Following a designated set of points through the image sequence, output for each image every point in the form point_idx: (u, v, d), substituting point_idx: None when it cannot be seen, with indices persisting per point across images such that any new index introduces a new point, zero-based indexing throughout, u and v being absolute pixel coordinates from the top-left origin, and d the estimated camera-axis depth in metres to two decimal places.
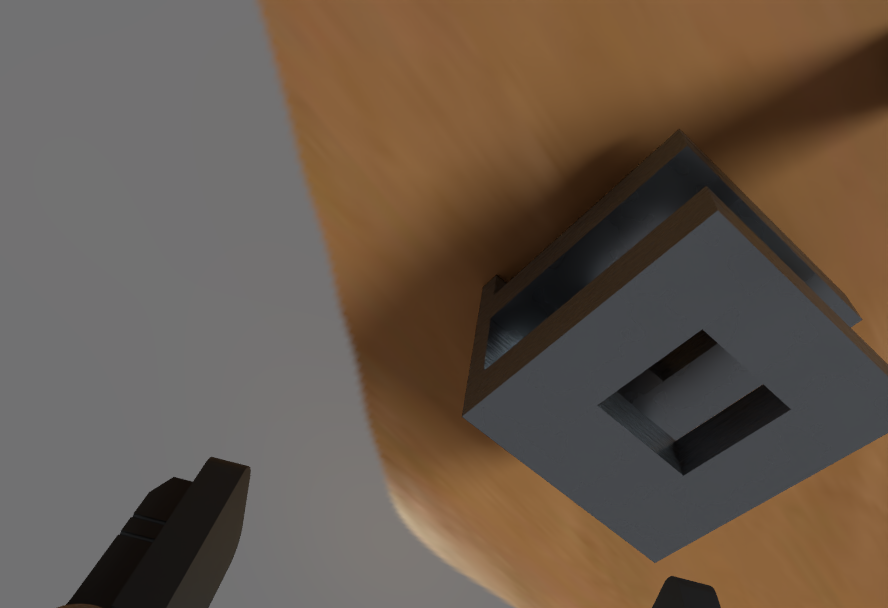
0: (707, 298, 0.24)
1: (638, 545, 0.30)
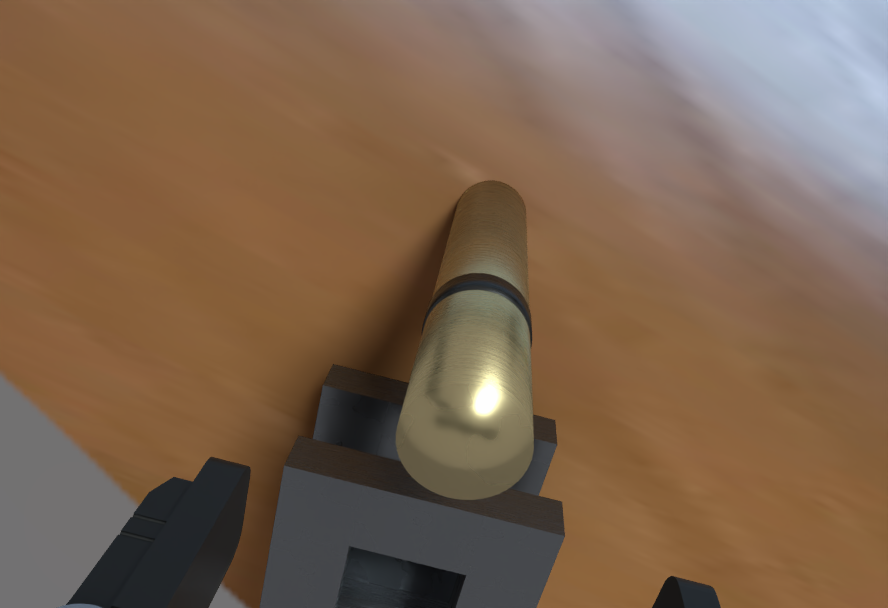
0: (332, 524, 0.28)
1: None
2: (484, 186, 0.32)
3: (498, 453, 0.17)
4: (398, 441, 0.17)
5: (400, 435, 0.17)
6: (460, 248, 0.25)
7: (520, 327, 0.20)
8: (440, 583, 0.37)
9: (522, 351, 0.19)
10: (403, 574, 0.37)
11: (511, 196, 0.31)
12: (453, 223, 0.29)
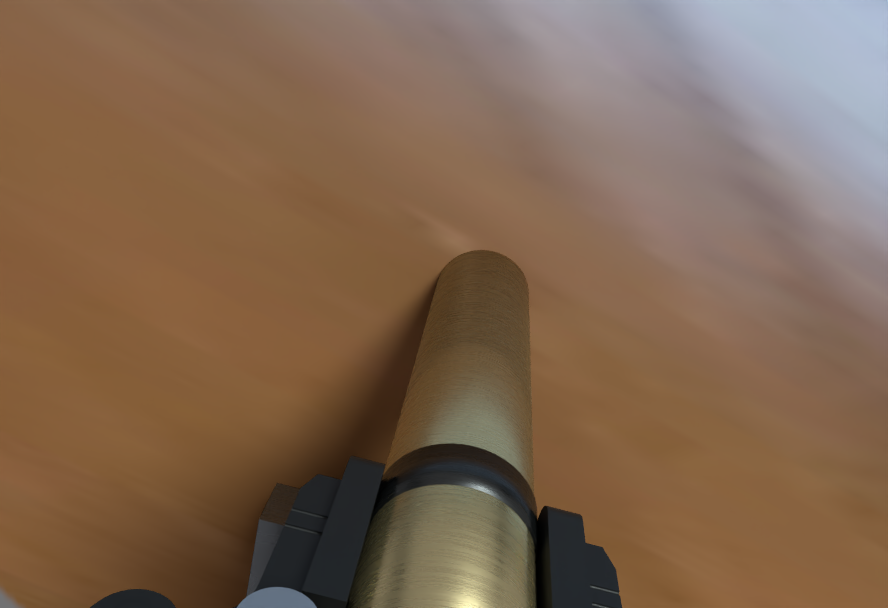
0: None
1: None
2: (473, 260, 0.24)
3: None
4: None
5: None
6: (432, 379, 0.17)
7: (519, 561, 0.12)
8: None
9: None
10: None
11: (509, 275, 0.23)
12: (428, 317, 0.21)
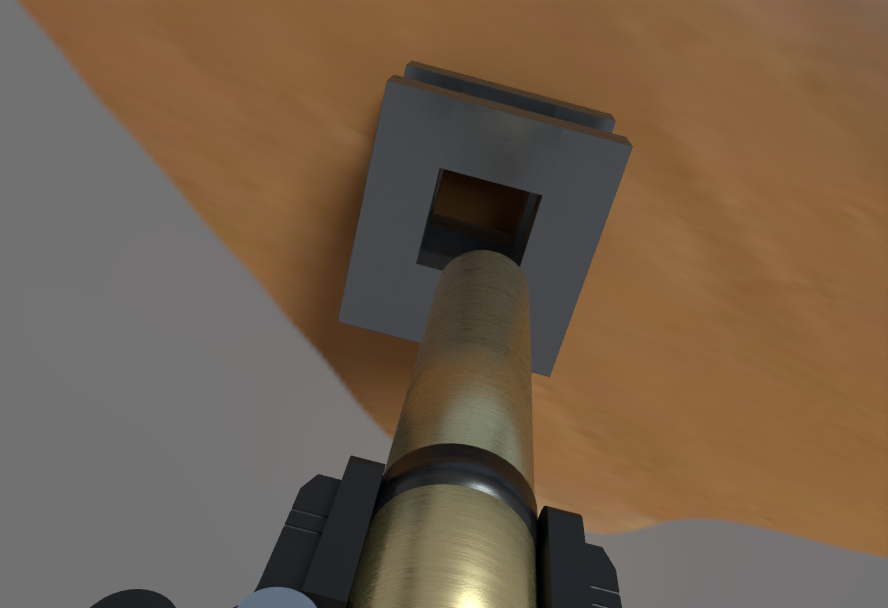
0: (426, 144, 0.32)
1: None
2: (473, 260, 0.24)
3: None
4: None
5: None
6: (433, 379, 0.17)
7: (520, 561, 0.12)
8: None
9: None
10: None
11: (509, 275, 0.23)
12: (429, 317, 0.21)
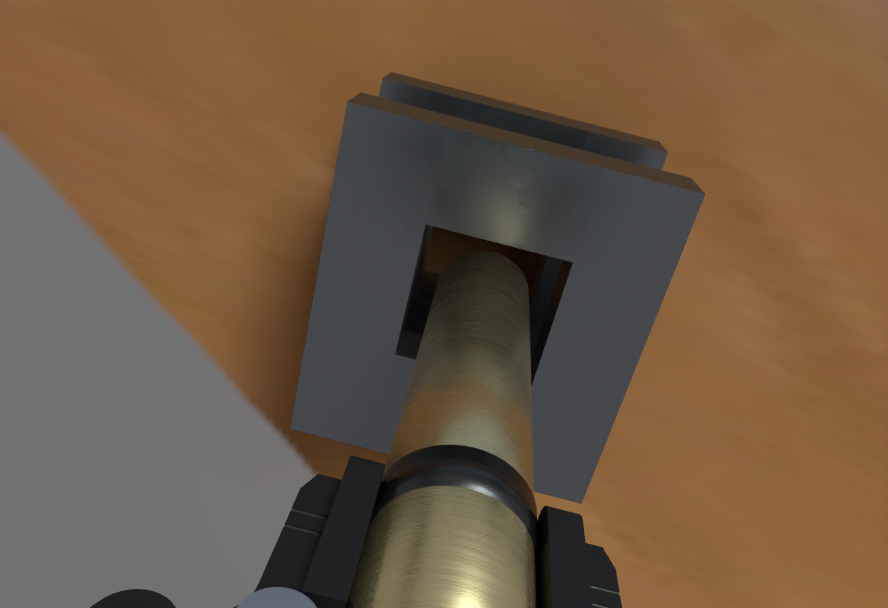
0: (406, 191, 0.22)
1: (549, 490, 0.26)
2: (473, 261, 0.24)
3: None
4: None
5: None
6: (432, 380, 0.17)
7: (519, 563, 0.12)
8: None
9: None
10: None
11: (509, 276, 0.23)
12: (428, 318, 0.21)
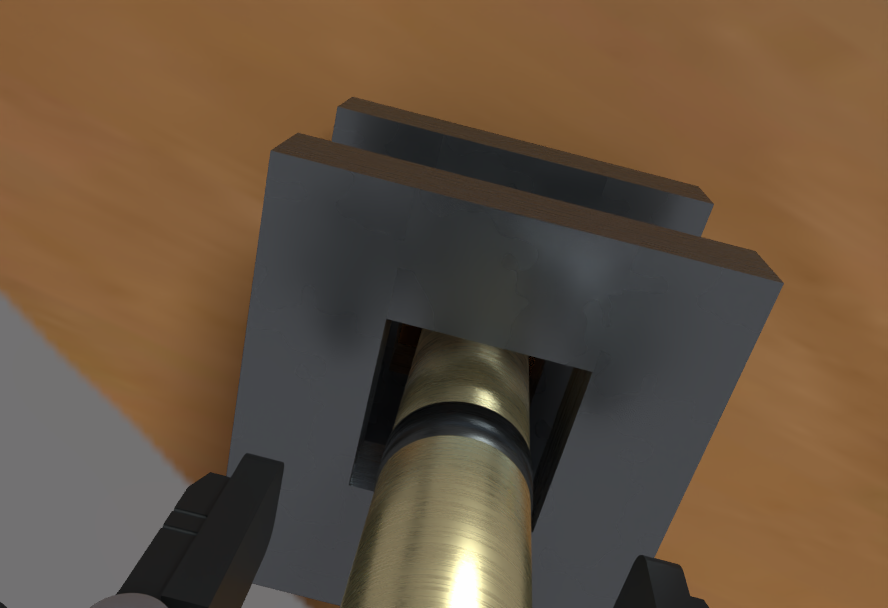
0: (357, 274, 0.16)
1: None
2: None
3: None
4: None
5: None
6: (436, 348, 0.18)
7: (515, 501, 0.13)
8: None
9: (517, 554, 0.12)
10: None
11: None
12: None
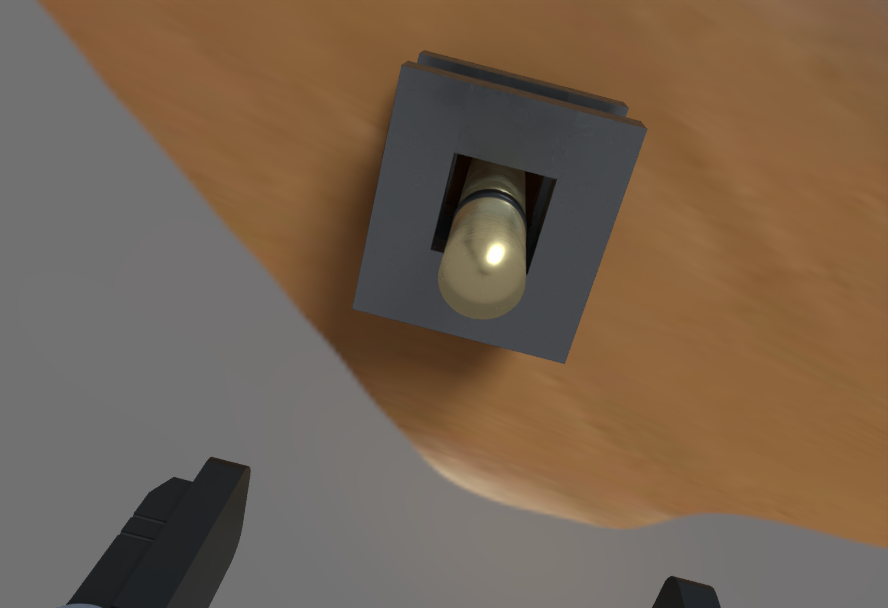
0: (440, 128, 0.32)
1: (541, 354, 0.36)
2: None
3: (503, 285, 0.26)
4: (439, 278, 0.27)
5: (441, 274, 0.26)
6: (476, 178, 0.35)
7: (518, 220, 0.30)
8: None
9: (519, 231, 0.29)
10: None
11: None
12: (469, 167, 0.39)
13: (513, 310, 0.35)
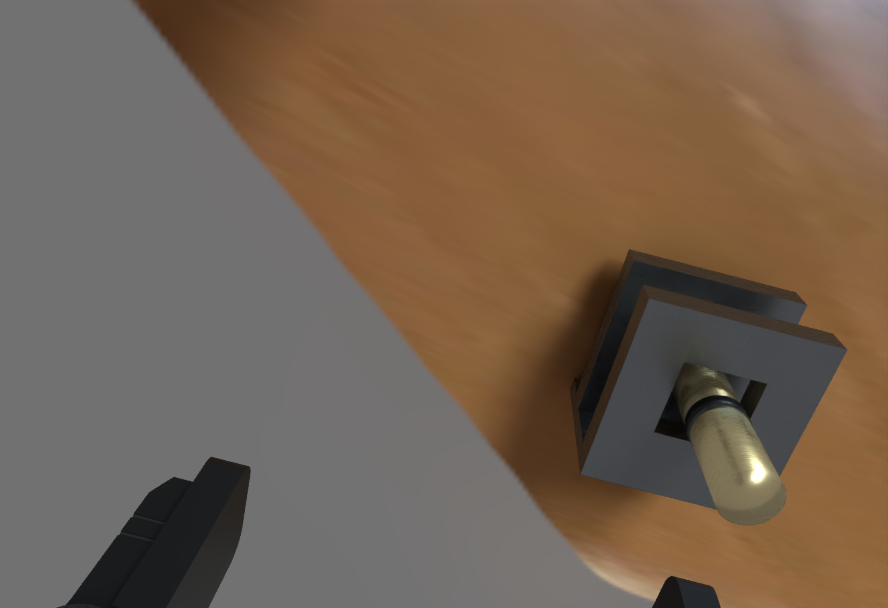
0: (675, 344, 0.40)
1: None
2: None
3: (767, 502, 0.34)
4: (716, 496, 0.34)
5: (718, 493, 0.34)
6: (693, 372, 0.42)
7: (754, 430, 0.37)
8: None
9: None
10: (668, 416, 0.48)
11: None
12: None
13: None
